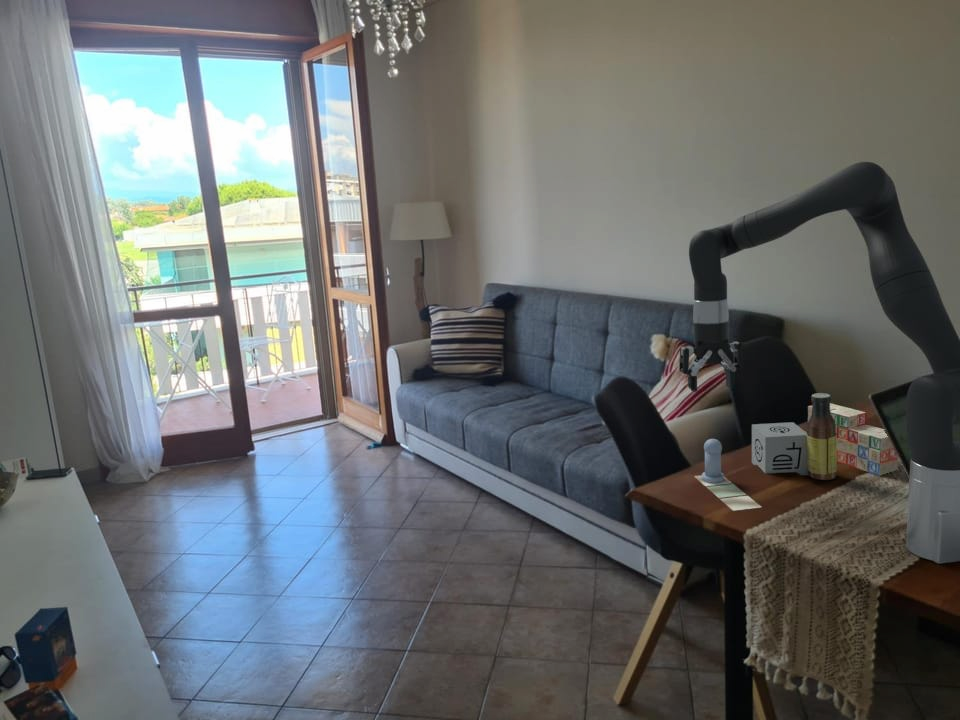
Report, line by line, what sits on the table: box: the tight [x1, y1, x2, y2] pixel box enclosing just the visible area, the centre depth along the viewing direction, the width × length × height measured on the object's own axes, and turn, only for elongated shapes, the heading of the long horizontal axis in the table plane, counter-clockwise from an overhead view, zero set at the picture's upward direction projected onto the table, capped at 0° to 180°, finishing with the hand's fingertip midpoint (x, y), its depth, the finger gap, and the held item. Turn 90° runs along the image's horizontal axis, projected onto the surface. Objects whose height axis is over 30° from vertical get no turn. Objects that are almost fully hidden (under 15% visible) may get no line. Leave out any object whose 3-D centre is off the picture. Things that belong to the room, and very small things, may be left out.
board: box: [694, 474, 762, 512], centre depth 160 cm, size 21×7×1 cm, turn 6°
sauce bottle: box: [806, 392, 838, 481], centre depth 165 cm, size 6×6×20 cm
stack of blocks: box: [807, 402, 899, 477], centre depth 174 cm, size 21×6×12 cm, turn 21°
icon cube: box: [751, 422, 809, 476], centre depth 172 cm, size 10×10×10 cm
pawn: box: [701, 438, 725, 484], centre depth 166 cm, size 5×5×10 cm
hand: (711, 389), depth 163 cm, fingers open, 8 cm apart
